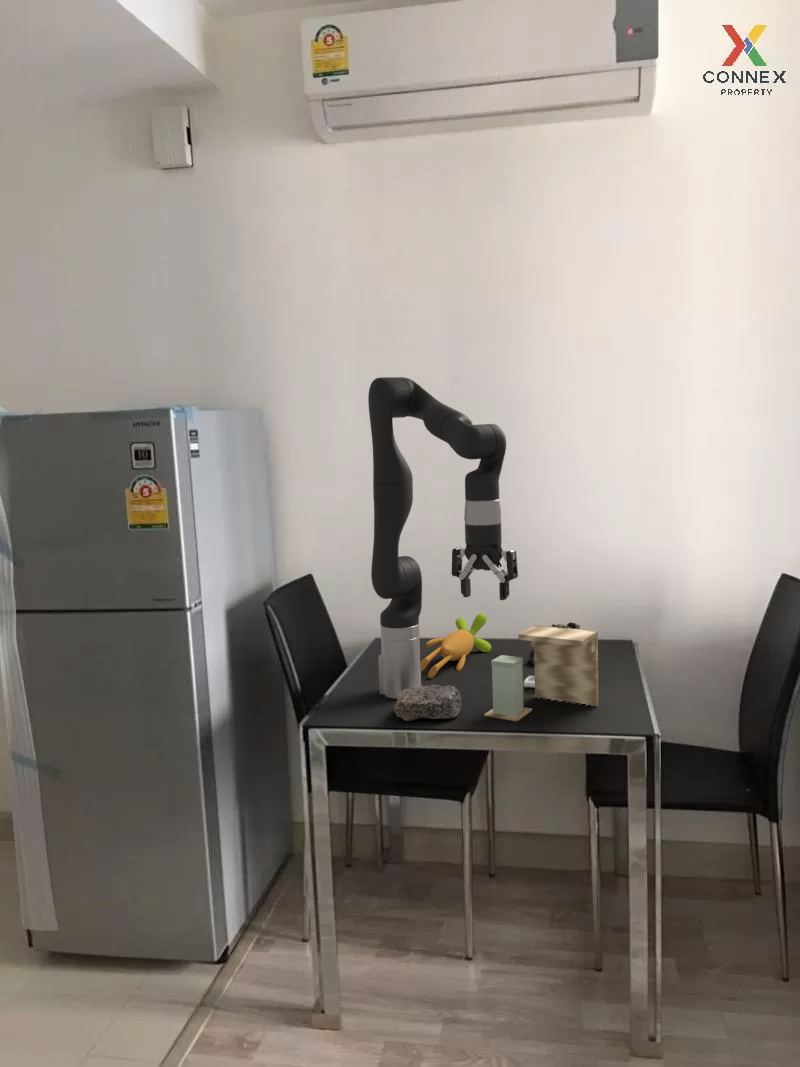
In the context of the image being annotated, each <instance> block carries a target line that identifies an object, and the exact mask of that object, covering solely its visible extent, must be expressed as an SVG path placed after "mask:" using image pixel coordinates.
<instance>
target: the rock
mask: <svg viewBox="0 0 800 1067" xmlns="http://www.w3.org/2000/svg"><path fill="white" fill-rule="evenodd" d="M461 696H462V695H461V693H460V691H459V689H457V688H456V687H455V686H454V685H452V684H451V685H450V684H448V685H445V686H442V685H438V684H430V685H423V684H421V686H420V687H417V688H416V687H414V688H408V689H405V690H403V692H401V693H400V695H399V696H398V699H396V702H395V703H394V705H393V706H392V711H393V712H394V714H396V715H395V716H396V717H398V718H402V720H403V721H405V722H410V721H415V720H417V719H421V718H425V719H431V720H439V719H440V720H441V719H442V720H447V719H454V718H456V717H457V716H458V715H459V713H460V712H461V709H462V697H461Z"/></svg>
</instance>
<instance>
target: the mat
mask: <svg viewBox="0 0 800 1067" xmlns="http://www.w3.org/2000/svg"><path fill="white" fill-rule="evenodd" d="M532 711H533V708H530V707H524V706H523V710H522V711H521V712H520V713H518V714H517V715H515V716H514V717H513V716H507V715H501V714H495V713H493V708H492V709H490V710H489V711H487V712H485V713H484V714H483V716H484V717H489V718H495V719H501V720H507V721H512V722H518V721H520V720H522V719H523V718H524V717H526V716H527V715H528V714H529V713H531V712H532Z"/></svg>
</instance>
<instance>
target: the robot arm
mask: <svg viewBox="0 0 800 1067" xmlns="http://www.w3.org/2000/svg"><path fill="white" fill-rule="evenodd" d="M367 396H368V399H367V400H368V413H369V423H370V424H369V425H370V430H371V431H370V432H371V442H372V444H371V445H372V460H373V461H372V467H373V470H372V471H373V475H372V480H373V481H372V482H373V484H372V485H373V486H372V487H373V488H372V493H373V545H372V546H373V548H372V557H371V558H372V559H371V569H370V570H371V572H370V573H371V578H370V579H371V584H372V587H373V590H374V593H376V595H377V596H378V597H379V598H381V599H384V600H388V599H390V602H389V604H388V605H387V606H386V608H384V609H383V610H382V611H381V612H380V616H379V620H380V621H379V622H380V624H379V625H380V642H381V643H380V645H381V653H380V654H379V655H378V678H379V679H378V680H379V681H378V682H379V695H382V694H383V696H384V695H385V696H384V697H386V698H389V699H394V700H398V696H399V695H400V693H401V692H403V690H405V689H408V688H414V687H416V688H417V687H420V686H422V673H421V672H422V671H421V666H420V663H421V643H420V642H421V640H420V639H421V638H420V615H421V613H422V606H423V605H422V601H423V600H422V599H423V598H422V597H423V576H422V571H421V568H420V565H419V564H418V562H417V561H416V559H415V558H413V557H411V556H408V555H401V556H399V546H400V538H401V534H402V533H403V529H404V527H405V525H406V522H407V520H408V518H409V517H410V516H409V515H410V512H411V511H412V510H411V509H412V507H413V501H414V499H413V498H414V490H413V488H414V487H413V485H414V482H413V480H414V478H413V474H412V470H411V468H410V466H409V463H408V462H407V460H406V458H405V456H404V455H403V453H402V452H401V450H400V448H399V446H398V445H397V442H396V439H395V435H394V426H393V420H394V419H398V418H399V419H400V418H401V419H403V418H406V417H409V418H410V417H411V418H416V419H419V420H421V421H423V424H424V427H425V429H426V430H427V431H428V432H429V433H430V434H432V436H434V437H435V438H438V439H439V440H441V441H443V442H445V444H448V445H449V446H450V448H451V449H452V450H453V451H454V452H455V453H456V455H457V456H459V457H461V458H463V459H465V460H480V461H479V464H478V467H477V468H476V469H473V470H471V471H469V472H467V473H466V475H465V477H464V496H465V497H464V498H465V499H464V500H465V502H464V503H465V504H464V517H463V518H464V520H463V521H464V540H465V541H464V542H465V548H462V547H461V546H458V547H455V548H452V550H451V576H452V577H456V578H458V579H459V580H460V593H461V595H462V597H463V598H469V597H471V591H472V589H471V578H470V576H471V575H472V573H473V572H474V571H476V570H477V571H480V570H484V571H486V572H487V571H491V572H492V573H493V575H495V576H496V577H497V579H498V580H499V583H498V584H499V600H500V601H505V600H507V599H508V597H509V596H510V581H512V580H516V579H517V578H518V577H519V572H518V559H517V558H518V557H517V550H516V549H509V550H503V548H502V512H501V511H502V509H501V504H500V501H501V500H500V477H501V472H502V467H503V463H504V458H505V454H506V451H507V439H506V434H505V431H504V430H503V429H502V427H501V426H499V425H498V424H495V423H484V424H473V422H472V420H471V418H470V417H469V416H467V415H466V414H464V413H462V411H458V410H456V409H454V408H452V407H450V406H448V405H446V404H444V403H442V401H440V400H438V399H437V398H436V397H435V396H433V395H432V394H430V393H429V392H428V391H426V390H425V388H423V387H422V386H421V385H420V384H418V383H417V382H416V381H414V380H412V379H411V378H408V377H402V376H400V377H399V376H396V377H395V376H393V377H389V376H388V377H387V376H385V377H377V378H375V379H373V380H372V382H371V383H370V385H369V390H368V394H367ZM464 557H465V558H466V559H467V560H468V561H467V563H465V565H464V566H463V558H464ZM502 558H503V559H504V561H505V562H506V567H505V565H503V562H502V561H501V560H502Z"/></svg>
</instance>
